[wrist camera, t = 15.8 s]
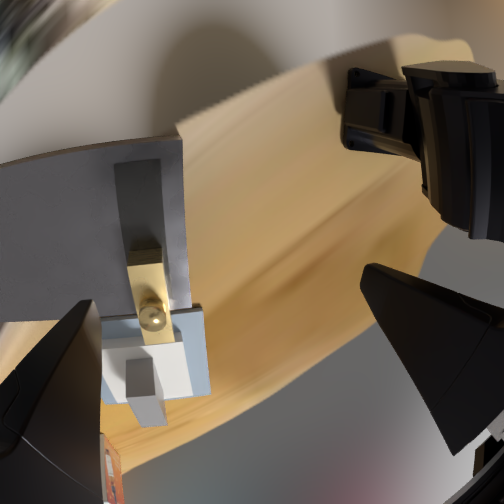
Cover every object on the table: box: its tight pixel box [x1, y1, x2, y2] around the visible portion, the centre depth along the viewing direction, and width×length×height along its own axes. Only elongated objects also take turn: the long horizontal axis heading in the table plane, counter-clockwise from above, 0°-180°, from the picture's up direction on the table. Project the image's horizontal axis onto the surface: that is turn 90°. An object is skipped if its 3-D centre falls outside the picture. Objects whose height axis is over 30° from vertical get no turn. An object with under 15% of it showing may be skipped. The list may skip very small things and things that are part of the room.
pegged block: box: [127, 248, 175, 345], centre depth 17 cm, size 2×6×3 cm, turn 178°
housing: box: [0, 135, 192, 322], centre depth 16 cm, size 16×11×3 cm
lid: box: [102, 332, 193, 427], centre depth 22 cm, size 8×8×5 cm
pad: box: [100, 307, 211, 404], centre depth 25 cm, size 12×12×1 cm
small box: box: [100, 434, 124, 504], centre depth 26 cm, size 8×6×10 cm
